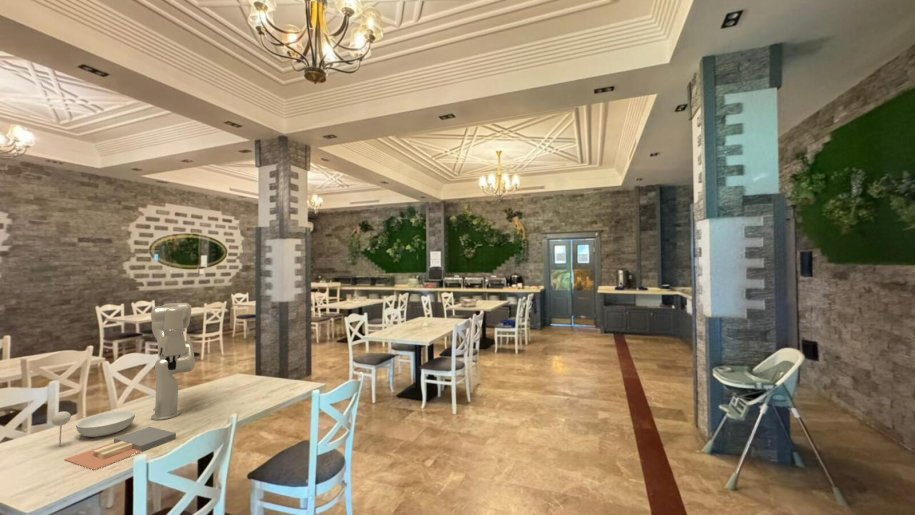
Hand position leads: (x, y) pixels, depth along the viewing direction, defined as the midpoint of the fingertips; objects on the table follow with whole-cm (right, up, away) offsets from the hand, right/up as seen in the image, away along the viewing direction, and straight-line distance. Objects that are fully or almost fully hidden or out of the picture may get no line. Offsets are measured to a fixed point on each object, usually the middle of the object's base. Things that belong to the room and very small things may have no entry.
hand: (171, 369), depth 183 cm
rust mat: (-6, -28, -29) cm, 41 cm away
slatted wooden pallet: (-4, -27, -27) cm, 38 cm away
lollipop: (-34, -28, -20) cm, 49 cm away
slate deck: (0, -28, -15) cm, 32 cm away
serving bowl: (-27, -29, -6) cm, 40 cm away
